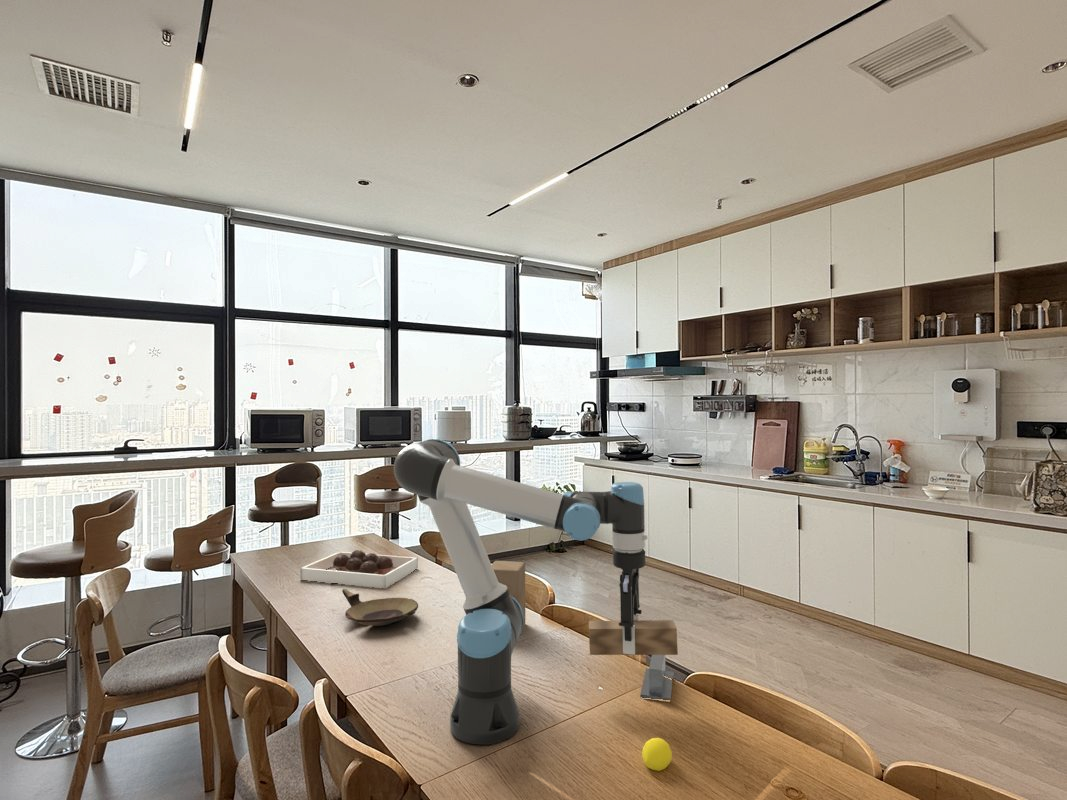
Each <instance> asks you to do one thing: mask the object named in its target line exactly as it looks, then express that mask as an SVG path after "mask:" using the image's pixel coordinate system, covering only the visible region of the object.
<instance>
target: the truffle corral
mask: <svg viewBox="0 0 1067 800" xmlns="http://www.w3.org/2000/svg"><path fill="white" fill-rule="evenodd" d="M341 554H345V555H347V556H348V557H349V558H350V556H351V554H352V552H349V551H338V552H336V553H333V554H331V555H329V556H327V557H324V558H322V559H319V560H317V561H313V562H311V563H310V564H307V565H304V566H302V567H300V568H299V570H300V575H299V576H300V577H299V578H300V580H309V581H308V582H310V581H317V582H316V583H320V582H325V583H324V584H331V583H338V584H337V585H341V584H345V585H344V586H351V585H355V586H354V587H362V586H363V587H362V588H372V587H374V588H375V589H382V588H383V589H387V588H389V587H391V586H392V585H393V584H396V583H397V582H399V581H400V580H403V579H404V578H405V577H407V576H409V575H410V574H412V573H414V572H415V571H416V570H415V569H417V568H418V569H419V563H418V560H419V559H418V557H411V556H398V555H387V554H386V555H385V554H376V555H377V556H378V557H379V558H380V557H383V556H385V557H389V558H390V559H392V563H393V566H394V567H393V568H392V571H390V572H389V573H387V574H385V575H379V574H368V573H357V572H346V571H335V570H331V568H333V567H332V566H333V563H334V562H333V561H334V559H335V558H336V557H337V556H338V555H341ZM365 554H366V555H367V554H368V553H365ZM330 567H331V568H330ZM328 568H329V569H328ZM326 569H327V570H326ZM418 569H417V570H418ZM414 570H415V571H414ZM413 571H414V572H413ZM411 572H412V573H411ZM408 574H409V575H408ZM395 582H396V583H395ZM390 585H391V586H390ZM383 589H382V590H383Z"/></svg>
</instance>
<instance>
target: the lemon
mask: <svg viewBox="0 0 1067 800" xmlns="http://www.w3.org/2000/svg"><path fill="white" fill-rule="evenodd" d="M641 756H642V760H643V763H644V764H645V765H646V767H647V768H648V769H650V770H652V771H657V772H660V771H663V770H665V769H666V768H667V767H668V766H669V765H670V763H671V761H672V758H673V752H672V749H671V747H670V743H668V742H667V741H665V740H664V739H663V738H661V737H653V738H650V739H649V740H647V741H646V742H645V743H644V745H643V747H642V752H641Z"/></svg>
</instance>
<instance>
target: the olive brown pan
mask: <svg viewBox="0 0 1067 800" xmlns="http://www.w3.org/2000/svg"><path fill="white" fill-rule="evenodd" d="M341 591H342V594H343V596H344V597H345V598H346V600H347V602H348V603H349V606H350V607H349V608H348V609H347V610H345V617H346V619H348V620H349V621H350V620H351V621H354V622H355V623H357V624H359V625H363V626H370V627H373V626H375V627H378V626H379V627H380V626H386V625H391V624H394V623H396V622H398V621H401V620H403V619H406V618H408V617H409V616H412V615H414V614H416V611H417V610H418V608H419V603H418V602H417V601H416V600H415V599H413V598H407V597H387V598H376V599H371V600H366V601H361V600H360V593H353V592H350V590H348V589H346V588H343V589H342V590H341Z"/></svg>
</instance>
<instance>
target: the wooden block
mask: <svg viewBox="0 0 1067 800" xmlns="http://www.w3.org/2000/svg"><path fill="white" fill-rule="evenodd" d="M491 565H492V568H493V570H494V572H495V575H496V577H497V580H498V582H499V583H501V584H503V585H506V586H507V588H508V590H509V593H510V595H511V597H513V598H515V599H516V600H517V601H518V603H519V604H520V606H521V608H522V611H523V628H524V627H525V626H526V563H525V561H511V560H509V561H508V560H494V561H493V563H491Z"/></svg>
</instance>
